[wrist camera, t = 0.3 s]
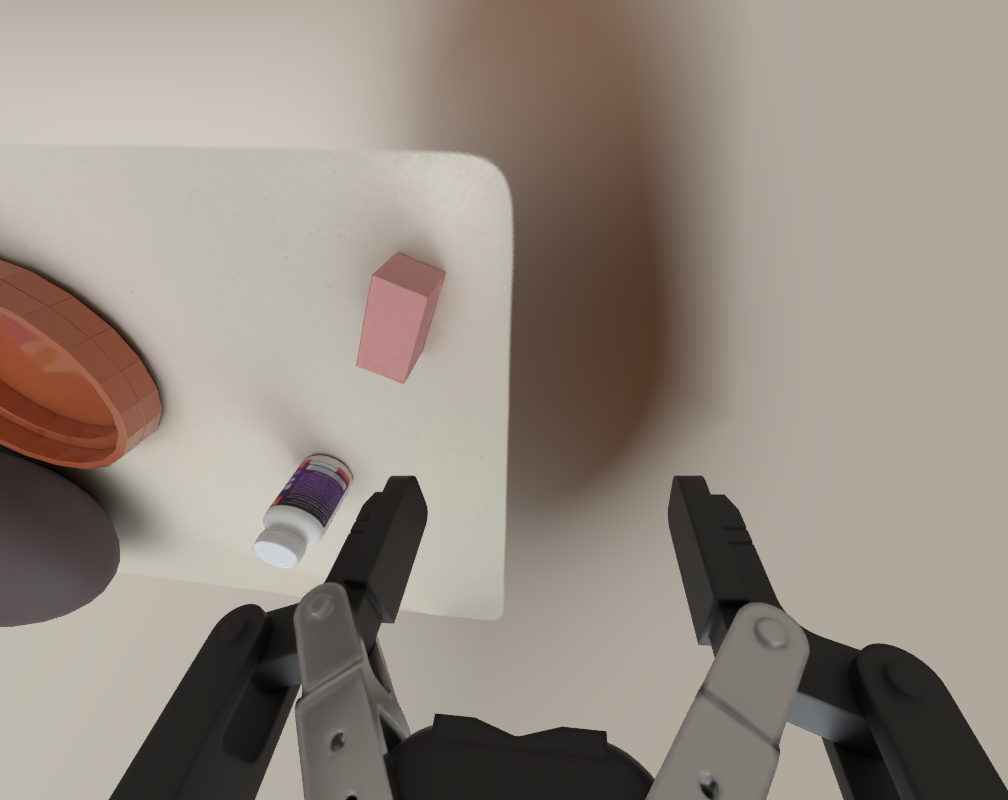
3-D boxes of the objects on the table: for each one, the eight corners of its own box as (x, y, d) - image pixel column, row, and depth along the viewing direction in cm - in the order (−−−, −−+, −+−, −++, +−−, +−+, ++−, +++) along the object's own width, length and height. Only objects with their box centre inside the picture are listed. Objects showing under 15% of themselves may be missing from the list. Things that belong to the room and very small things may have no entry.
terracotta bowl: (-125, 207, 30) (-220, 221, 26) (147, 308, 32) (95, 333, 29) (-16, 397, 41) (-71, 425, 38) (178, 460, 44) (144, 492, 40)
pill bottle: (302, 447, 40) (239, 529, 32) (354, 461, 40) (305, 546, 33) (304, 481, 43) (247, 563, 36) (352, 494, 44) (307, 578, 36)
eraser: (397, 251, 27) (371, 274, 23) (445, 272, 27) (428, 297, 24) (379, 336, 31) (355, 366, 28) (421, 352, 32) (403, 384, 28)
